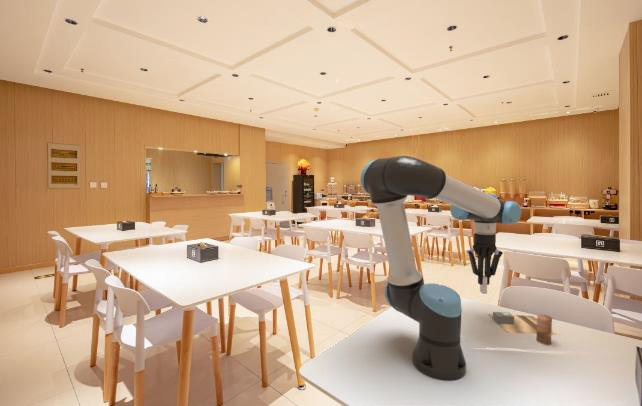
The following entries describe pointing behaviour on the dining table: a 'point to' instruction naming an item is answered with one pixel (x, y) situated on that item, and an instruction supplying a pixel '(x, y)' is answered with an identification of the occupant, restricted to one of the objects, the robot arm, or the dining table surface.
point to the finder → (503, 318)
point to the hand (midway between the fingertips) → (483, 292)
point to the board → (522, 325)
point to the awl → (544, 329)
